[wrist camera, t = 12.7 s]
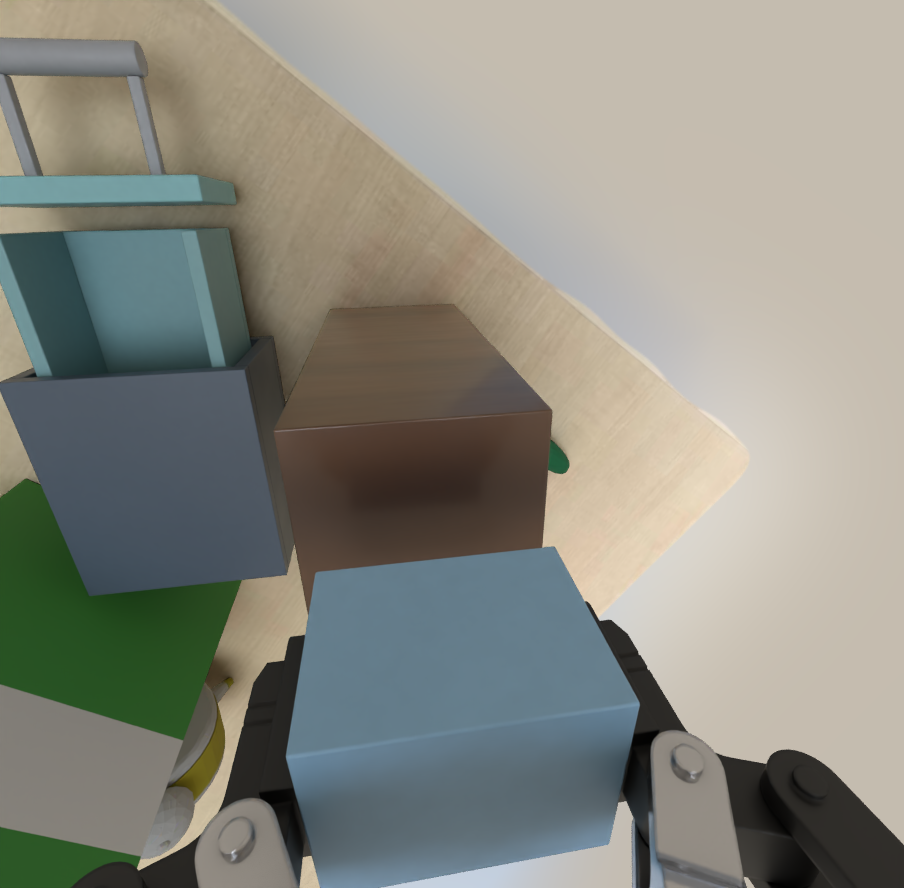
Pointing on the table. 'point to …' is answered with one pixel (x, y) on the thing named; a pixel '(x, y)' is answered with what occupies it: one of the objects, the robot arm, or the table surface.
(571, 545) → the table surface
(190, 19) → the table surface
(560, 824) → the blue rectangular block
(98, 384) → the cabinet
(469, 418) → the wooden stand
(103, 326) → the drawer
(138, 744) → the hardback book
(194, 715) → the alarm clock
